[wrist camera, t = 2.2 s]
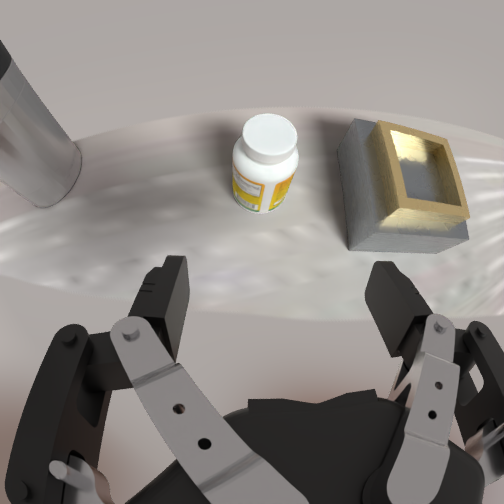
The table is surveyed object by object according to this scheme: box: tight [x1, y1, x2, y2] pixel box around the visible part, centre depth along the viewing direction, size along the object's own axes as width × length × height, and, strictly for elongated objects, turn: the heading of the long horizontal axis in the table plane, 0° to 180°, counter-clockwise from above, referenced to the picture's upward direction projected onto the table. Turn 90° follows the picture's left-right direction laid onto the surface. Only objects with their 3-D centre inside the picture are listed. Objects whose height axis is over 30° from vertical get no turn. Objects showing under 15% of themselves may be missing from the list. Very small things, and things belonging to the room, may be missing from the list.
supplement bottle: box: [232, 113, 299, 214], centre depth 23 cm, size 5×5×10 cm
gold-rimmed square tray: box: [337, 118, 470, 254], centre depth 24 cm, size 12×12×8 cm
